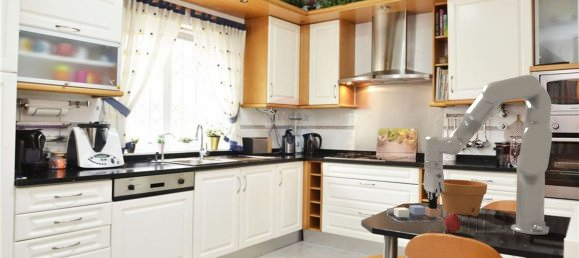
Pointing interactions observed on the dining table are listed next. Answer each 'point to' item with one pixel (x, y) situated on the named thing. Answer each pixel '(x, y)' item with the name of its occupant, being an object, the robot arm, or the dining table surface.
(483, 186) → the flower pot
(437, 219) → the clear tray
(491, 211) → the dining table surface
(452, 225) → the onion
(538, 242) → the dining table surface
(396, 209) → the ivory key
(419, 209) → the slate key
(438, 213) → the pink square block
